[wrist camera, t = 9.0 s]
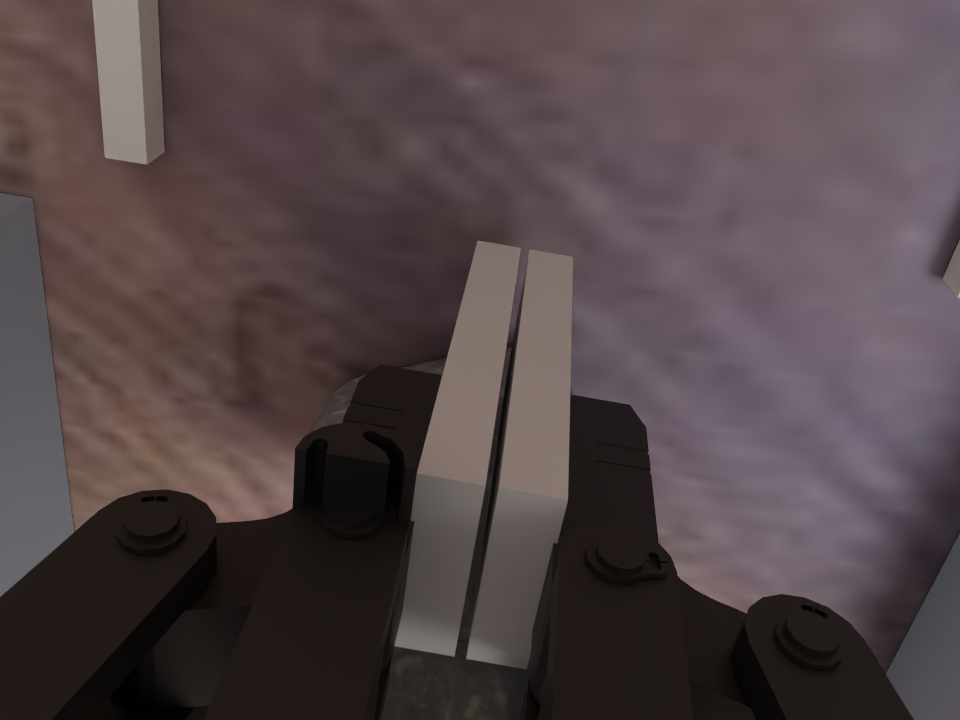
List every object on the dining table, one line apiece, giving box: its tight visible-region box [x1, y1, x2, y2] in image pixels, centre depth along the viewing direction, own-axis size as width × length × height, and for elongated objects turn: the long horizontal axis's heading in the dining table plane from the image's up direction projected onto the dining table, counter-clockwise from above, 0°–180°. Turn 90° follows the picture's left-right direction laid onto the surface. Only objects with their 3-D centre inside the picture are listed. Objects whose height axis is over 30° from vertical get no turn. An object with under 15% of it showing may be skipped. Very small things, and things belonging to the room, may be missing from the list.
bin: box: [0, 193, 960, 720], centre depth 20 cm, size 17×22×4 cm
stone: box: [311, 348, 573, 720], centre depth 15 cm, size 3×6×10 cm, turn 104°
